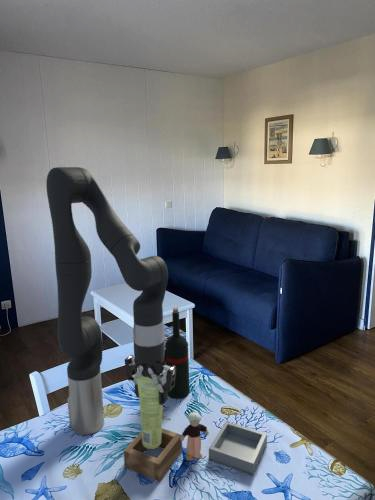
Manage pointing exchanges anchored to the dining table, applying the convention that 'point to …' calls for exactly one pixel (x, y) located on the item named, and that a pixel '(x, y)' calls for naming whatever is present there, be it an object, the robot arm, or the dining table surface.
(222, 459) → the tray
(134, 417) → the dining table surface
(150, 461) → the wooden frame
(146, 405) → the tube
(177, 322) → the wine bottle
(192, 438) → the grandmother figurine
